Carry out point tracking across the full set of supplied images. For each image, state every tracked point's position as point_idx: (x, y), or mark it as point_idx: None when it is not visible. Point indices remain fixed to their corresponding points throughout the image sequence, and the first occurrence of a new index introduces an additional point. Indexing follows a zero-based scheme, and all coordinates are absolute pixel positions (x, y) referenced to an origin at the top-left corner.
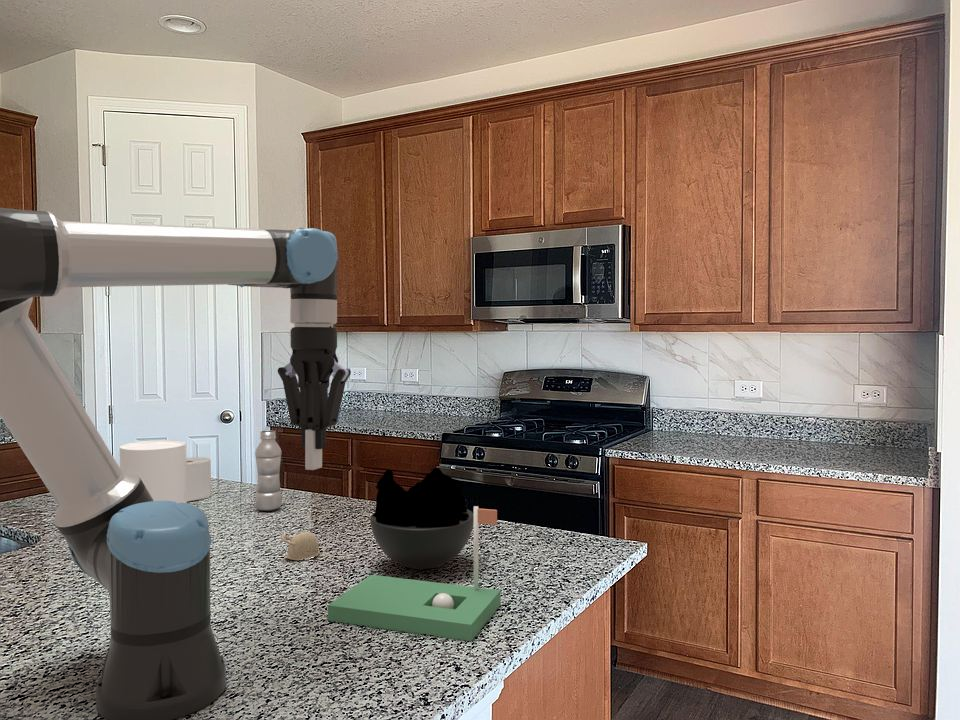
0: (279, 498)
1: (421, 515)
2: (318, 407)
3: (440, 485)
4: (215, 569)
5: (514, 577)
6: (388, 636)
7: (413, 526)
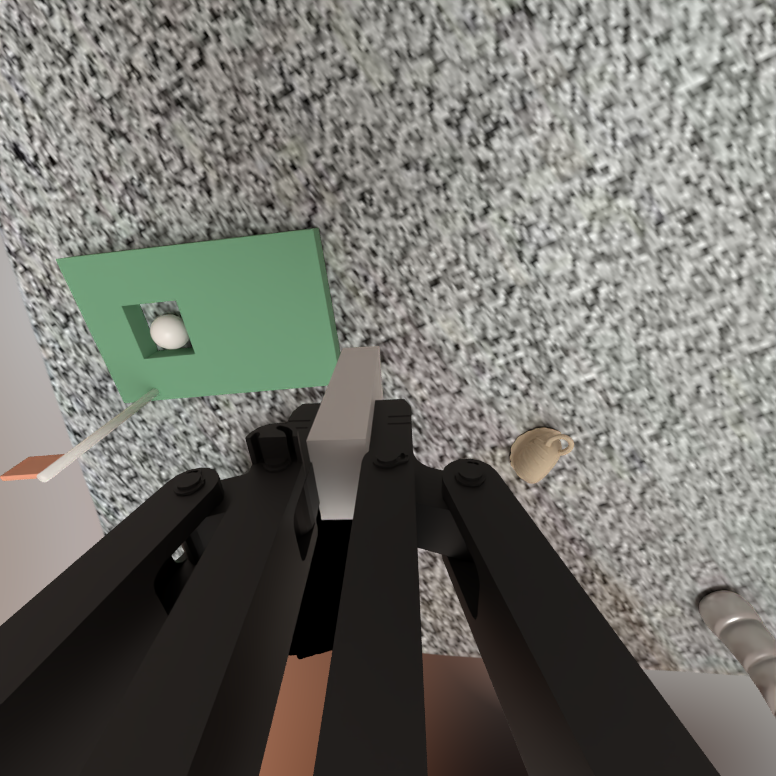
0: (708, 620)
1: None
2: (195, 588)
3: None
4: (656, 345)
5: None
6: (191, 216)
7: None
